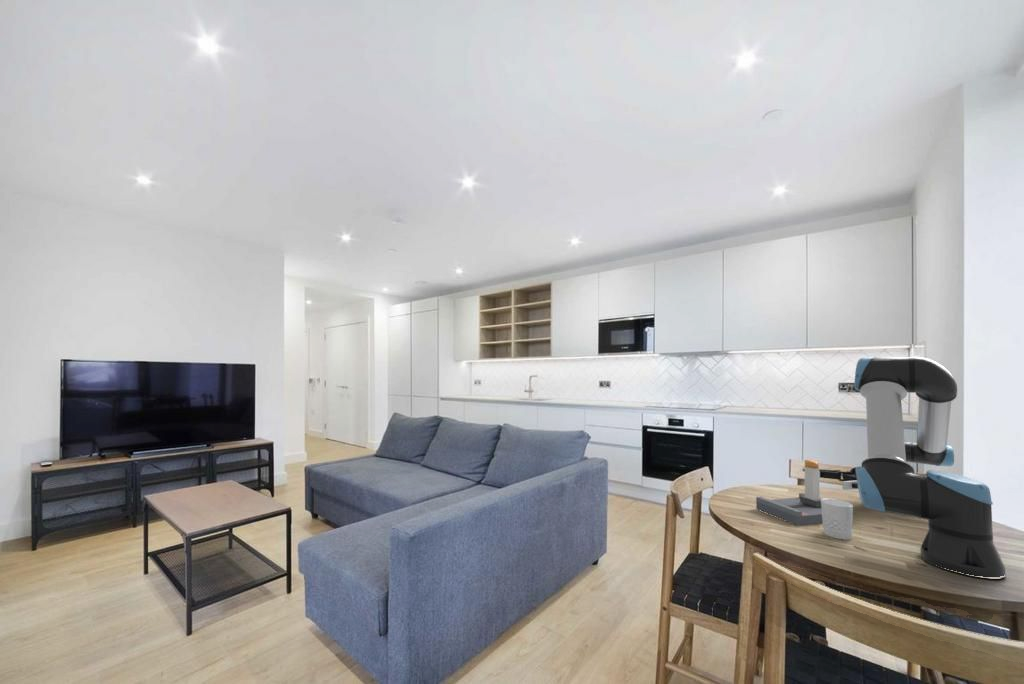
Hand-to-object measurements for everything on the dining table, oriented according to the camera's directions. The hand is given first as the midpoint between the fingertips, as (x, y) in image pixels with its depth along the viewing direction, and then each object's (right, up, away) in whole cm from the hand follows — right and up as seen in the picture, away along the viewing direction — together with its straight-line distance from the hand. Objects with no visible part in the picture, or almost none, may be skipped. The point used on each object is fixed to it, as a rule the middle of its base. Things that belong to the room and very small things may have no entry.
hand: (823, 480), depth 150 cm
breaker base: (-11, -11, -4) cm, 16 cm away
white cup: (-12, -10, -22) cm, 27 cm away
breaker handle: (-6, -8, -2) cm, 10 cm away
